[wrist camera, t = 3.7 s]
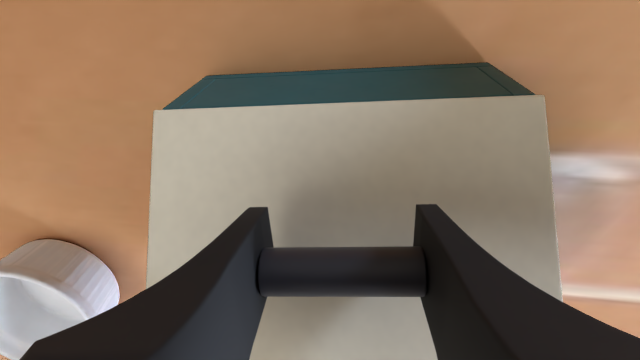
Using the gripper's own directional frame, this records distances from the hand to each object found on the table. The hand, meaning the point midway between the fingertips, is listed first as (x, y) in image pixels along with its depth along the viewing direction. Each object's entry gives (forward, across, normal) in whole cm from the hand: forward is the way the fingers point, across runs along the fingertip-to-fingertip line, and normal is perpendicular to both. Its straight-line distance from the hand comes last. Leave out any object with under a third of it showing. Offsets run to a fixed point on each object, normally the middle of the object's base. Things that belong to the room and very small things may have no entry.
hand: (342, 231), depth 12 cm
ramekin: (+10, +21, +12) cm, 26 cm away
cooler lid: (+1, 0, +2) cm, 2 cm away
